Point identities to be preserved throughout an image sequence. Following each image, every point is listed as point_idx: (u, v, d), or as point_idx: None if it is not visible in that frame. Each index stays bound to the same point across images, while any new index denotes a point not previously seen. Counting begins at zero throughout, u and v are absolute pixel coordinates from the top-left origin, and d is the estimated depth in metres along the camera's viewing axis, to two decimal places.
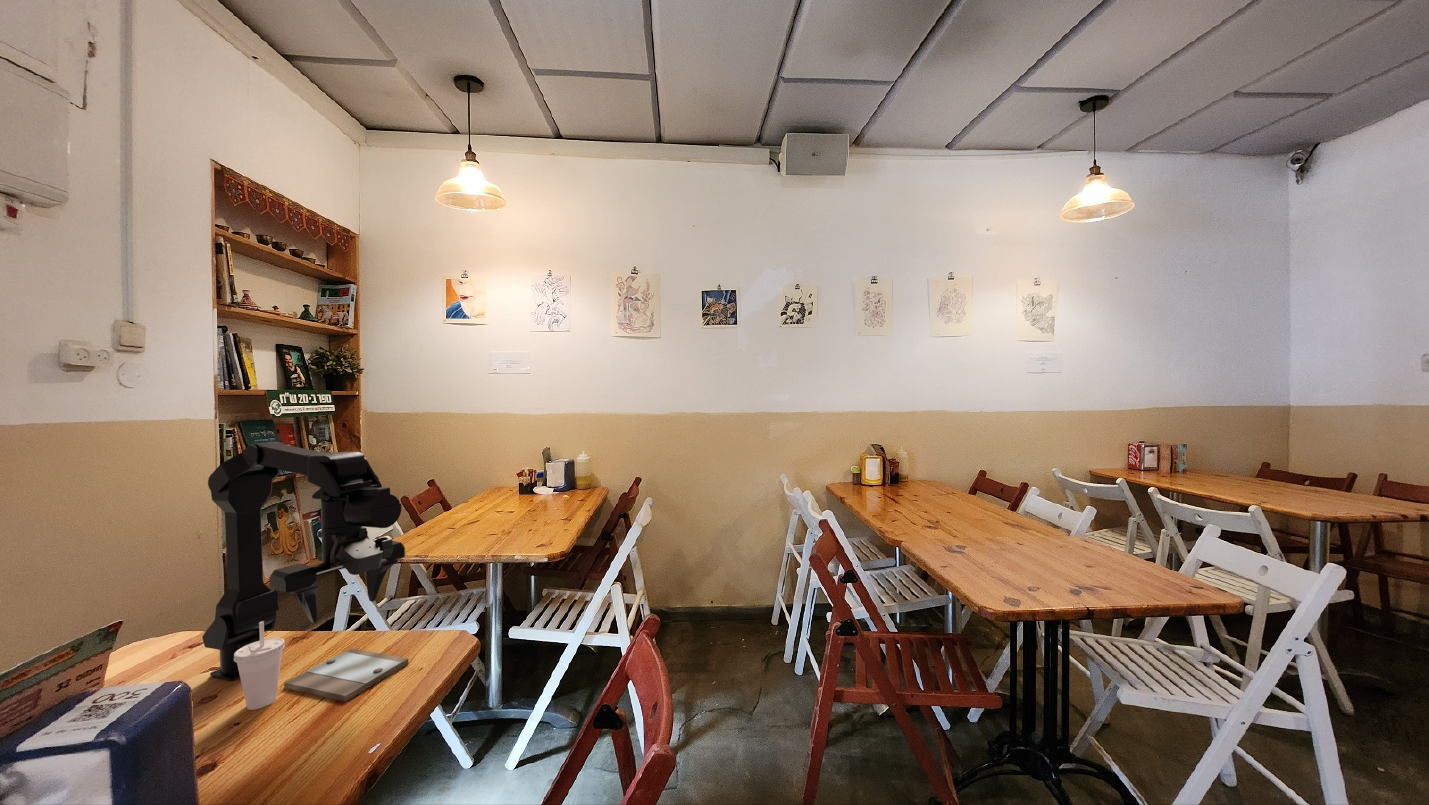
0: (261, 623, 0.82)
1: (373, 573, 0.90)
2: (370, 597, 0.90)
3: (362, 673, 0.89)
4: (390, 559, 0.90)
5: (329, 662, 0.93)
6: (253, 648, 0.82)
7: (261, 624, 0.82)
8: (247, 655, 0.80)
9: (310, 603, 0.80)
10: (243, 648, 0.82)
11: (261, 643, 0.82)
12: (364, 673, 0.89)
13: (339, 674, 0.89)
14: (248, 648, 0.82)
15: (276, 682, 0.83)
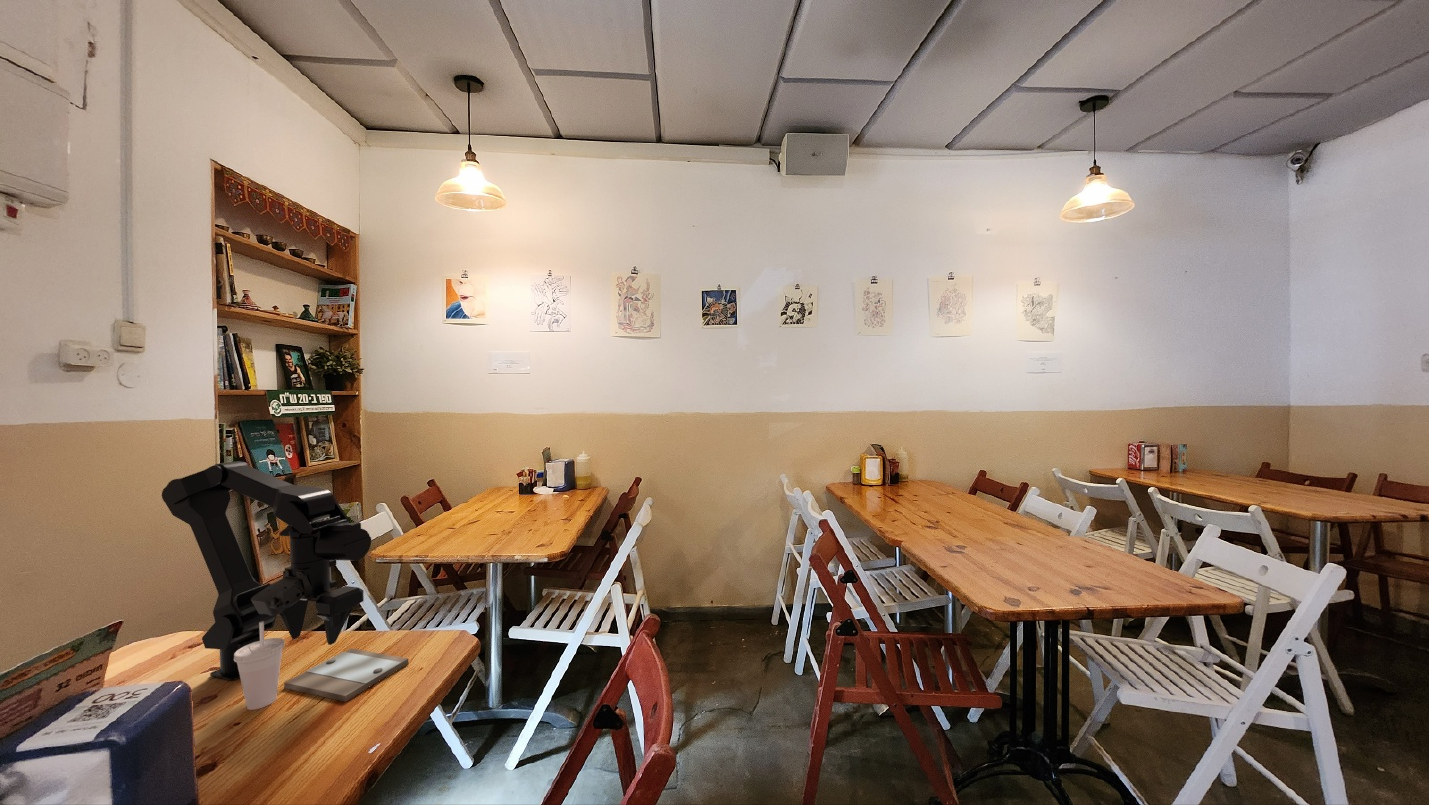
0: (261, 623, 0.82)
1: None
2: None
3: (362, 673, 0.89)
4: (319, 610, 0.86)
5: (329, 662, 0.93)
6: (253, 648, 0.82)
7: (261, 624, 0.82)
8: (247, 655, 0.80)
9: (284, 620, 0.91)
10: (243, 648, 0.82)
11: (261, 643, 0.82)
12: (364, 673, 0.89)
13: (339, 674, 0.89)
14: (248, 648, 0.82)
15: (276, 682, 0.83)
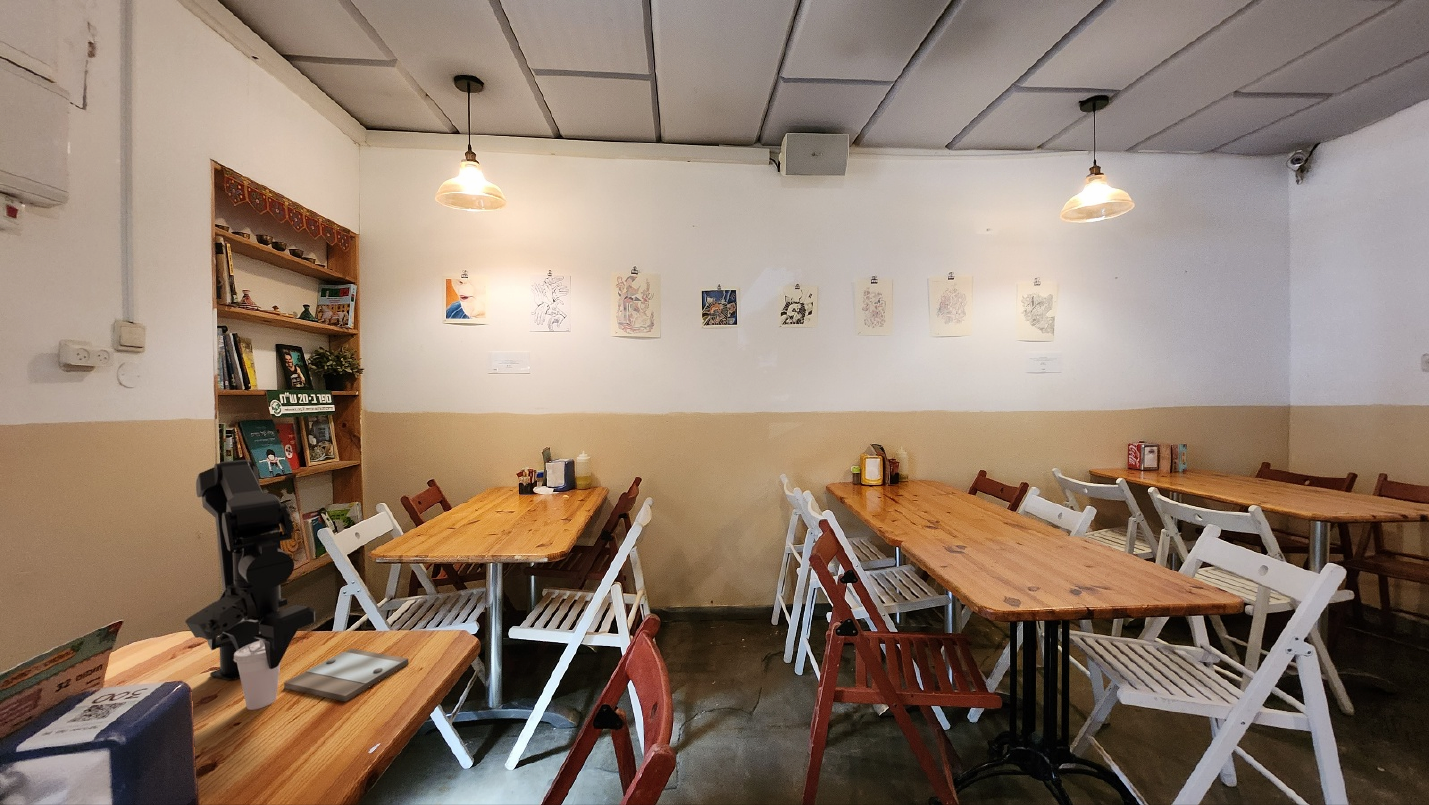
0: None
1: None
2: None
3: (362, 673, 0.89)
4: (262, 633, 0.78)
5: (329, 662, 0.93)
6: (253, 648, 0.82)
7: None
8: (247, 655, 0.80)
9: (234, 643, 0.82)
10: (243, 648, 0.82)
11: (261, 643, 0.82)
12: (364, 673, 0.89)
13: (339, 674, 0.89)
14: (248, 648, 0.82)
15: (276, 682, 0.83)
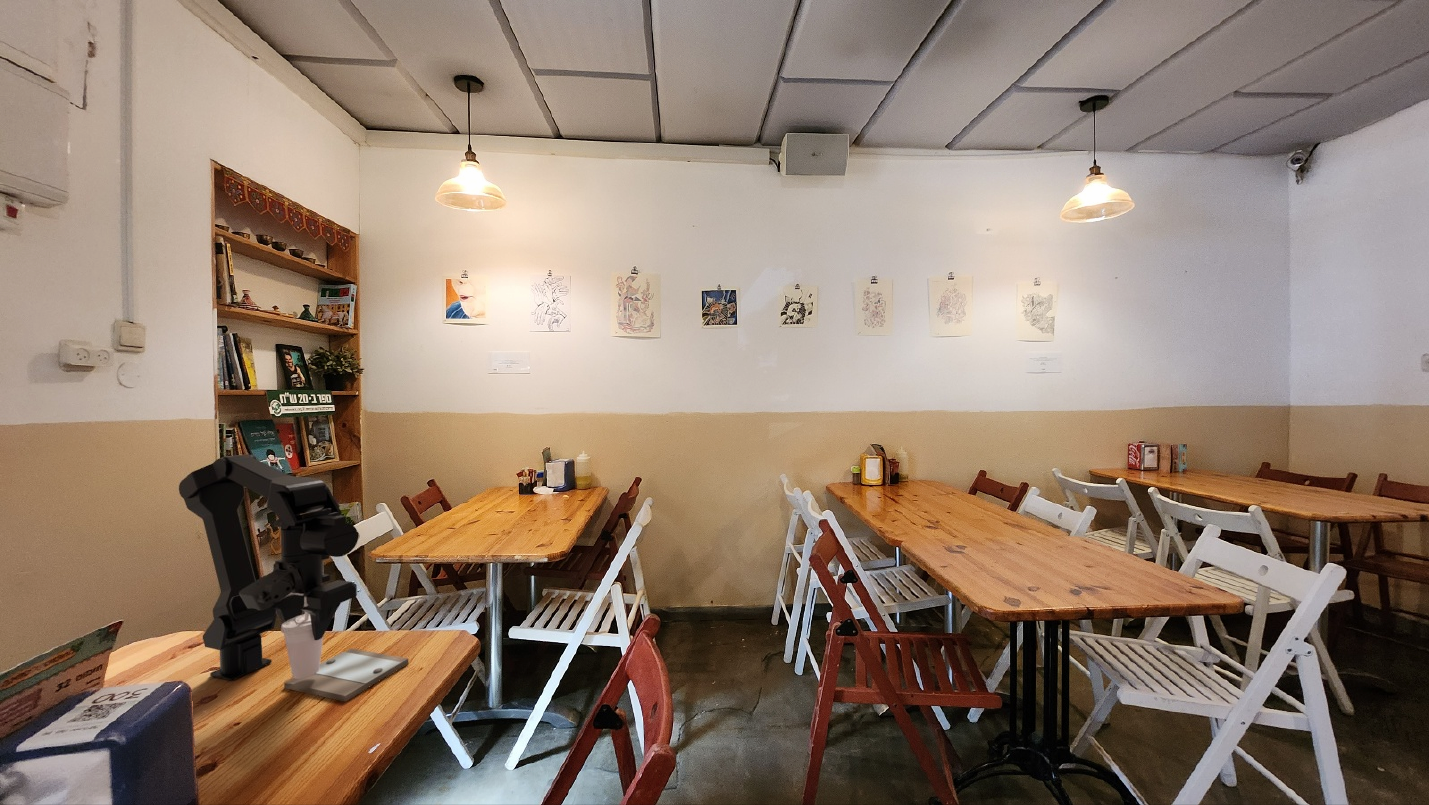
0: None
1: None
2: None
3: (362, 673, 0.89)
4: (310, 605, 0.82)
5: (329, 662, 0.93)
6: (298, 621, 0.86)
7: None
8: (294, 626, 0.85)
9: (280, 616, 0.87)
10: (289, 621, 0.87)
11: (306, 616, 0.87)
12: (364, 673, 0.89)
13: (339, 674, 0.89)
14: (294, 621, 0.87)
15: (319, 653, 0.88)
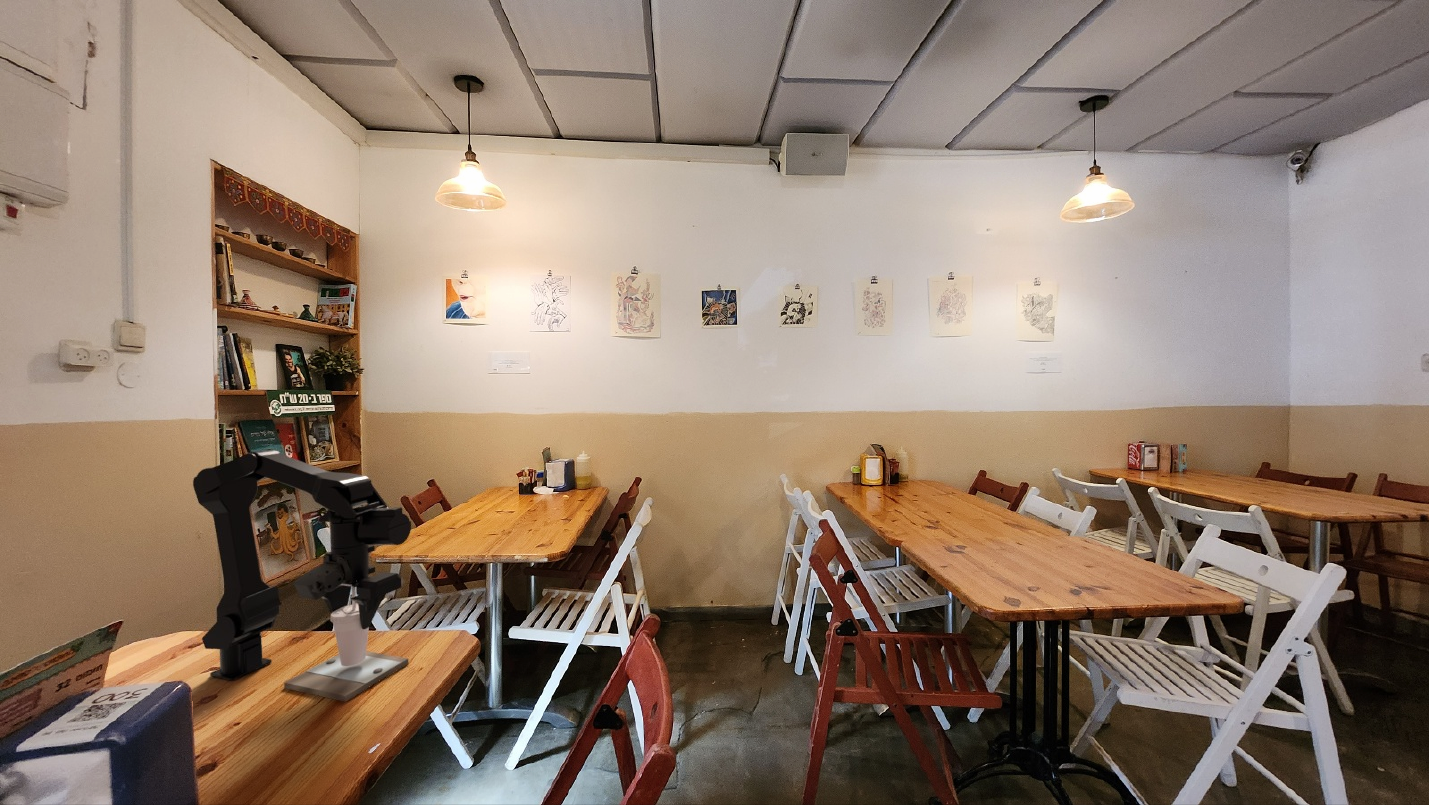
0: (353, 588, 0.90)
1: None
2: None
3: (362, 673, 0.89)
4: (359, 595, 0.86)
5: (329, 662, 0.93)
6: (346, 610, 0.90)
7: (353, 589, 0.90)
8: (343, 616, 0.88)
9: (328, 606, 0.91)
10: (337, 611, 0.90)
11: (353, 606, 0.90)
12: (364, 673, 0.89)
13: (339, 674, 0.89)
14: (341, 611, 0.90)
15: (366, 642, 0.91)
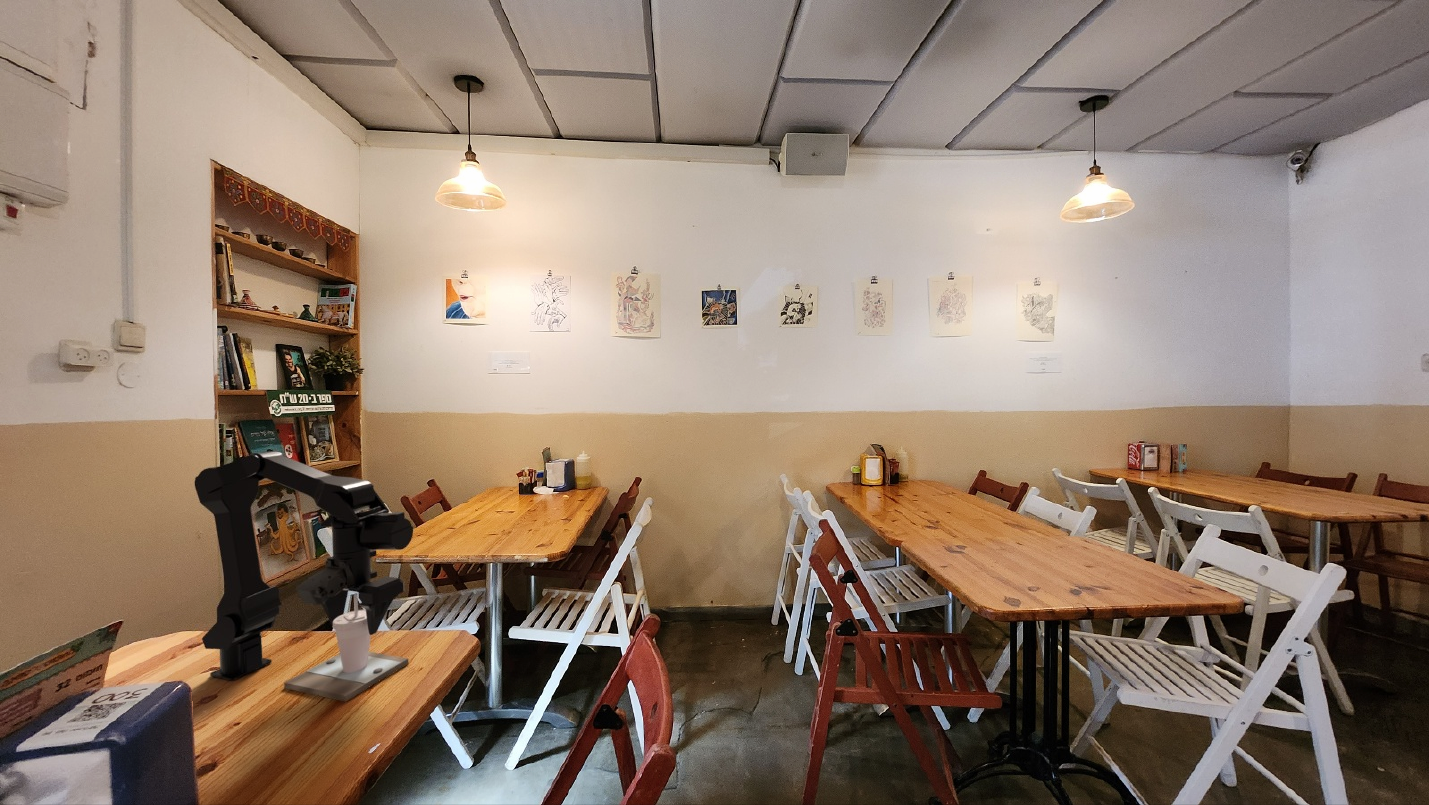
0: (355, 595, 0.91)
1: None
2: None
3: (362, 673, 0.89)
4: (362, 600, 0.86)
5: (329, 662, 0.93)
6: (349, 617, 0.90)
7: (355, 596, 0.90)
8: (345, 623, 0.88)
9: (325, 610, 0.91)
10: (339, 617, 0.91)
11: (355, 613, 0.90)
12: (364, 673, 0.89)
13: (339, 674, 0.89)
14: (343, 617, 0.91)
15: (368, 649, 0.92)
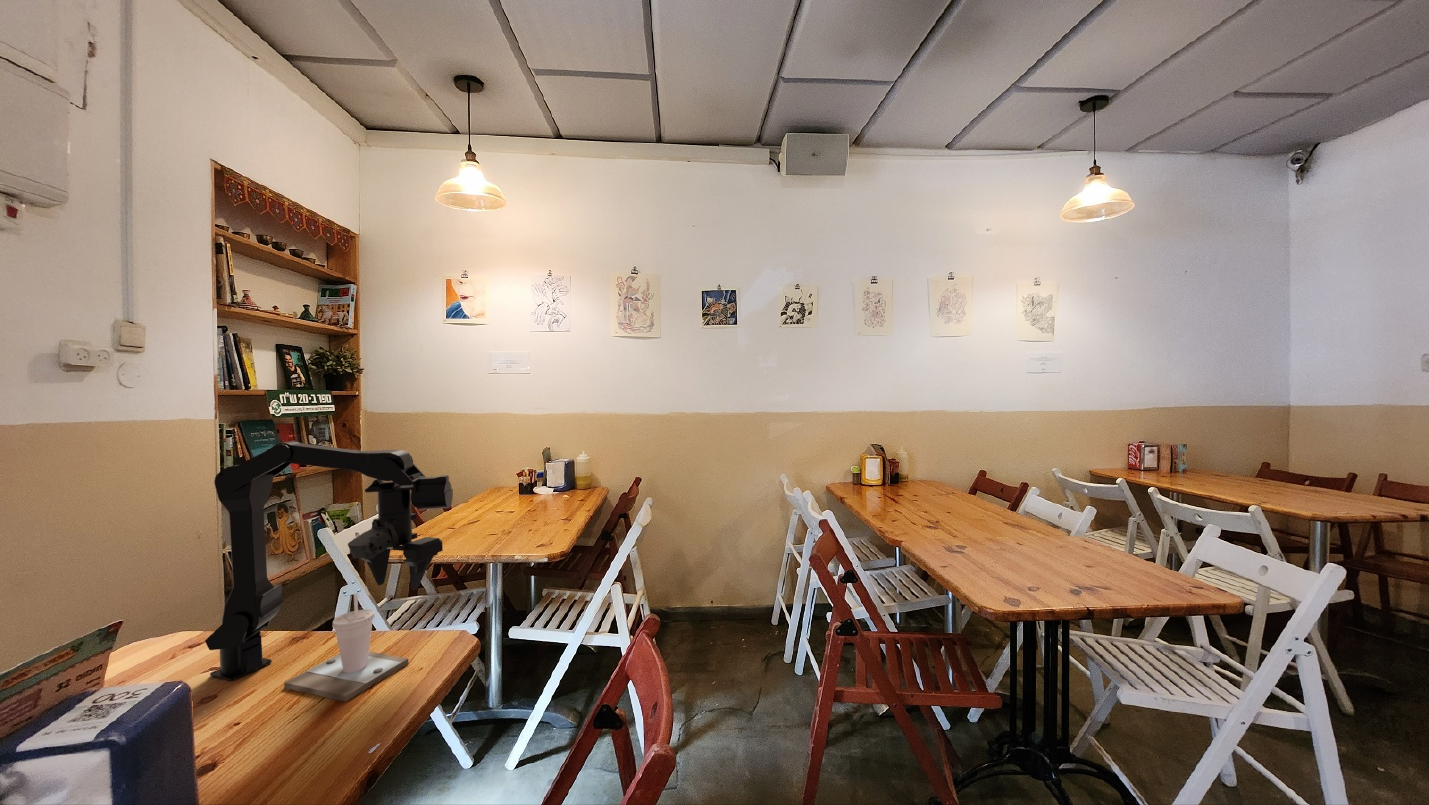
0: (355, 595, 0.91)
1: None
2: None
3: (362, 673, 0.89)
4: (406, 556, 0.95)
5: (329, 662, 0.93)
6: (349, 617, 0.90)
7: (355, 596, 0.90)
8: (345, 623, 0.88)
9: (370, 568, 1.00)
10: (339, 617, 0.91)
11: (355, 613, 0.91)
12: (364, 673, 0.89)
13: (339, 674, 0.89)
14: (343, 617, 0.91)
15: (368, 649, 0.92)
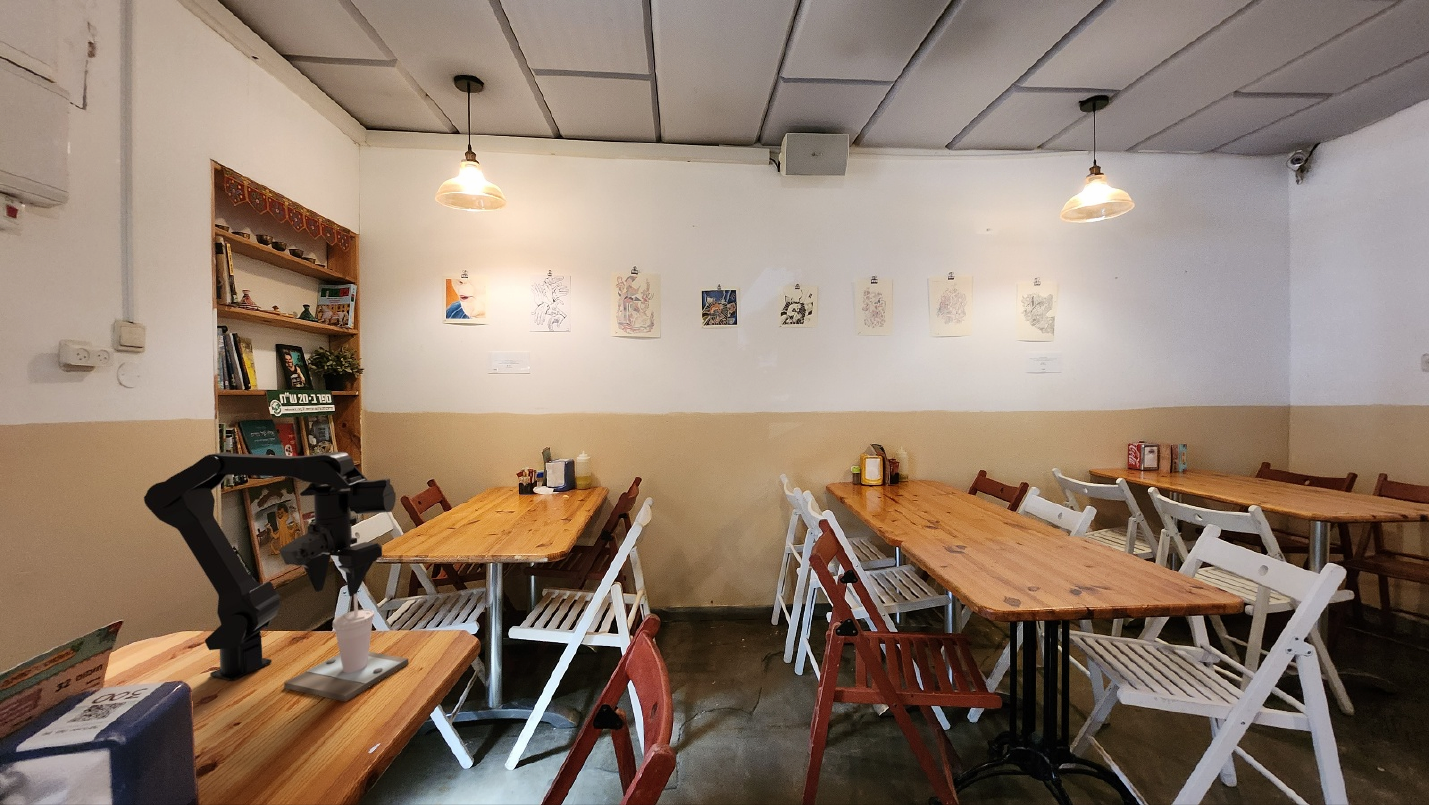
0: (355, 595, 0.91)
1: None
2: None
3: (362, 673, 0.89)
4: (341, 563, 0.91)
5: (329, 662, 0.93)
6: (348, 617, 0.90)
7: (355, 596, 0.90)
8: (345, 623, 0.88)
9: (308, 574, 0.97)
10: (339, 617, 0.91)
11: (355, 613, 0.90)
12: (364, 673, 0.89)
13: (339, 674, 0.89)
14: (343, 617, 0.91)
15: (368, 649, 0.92)
